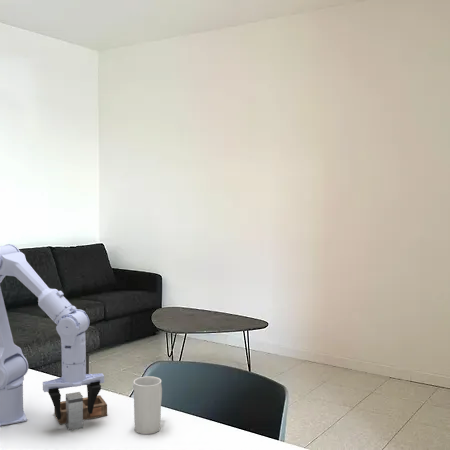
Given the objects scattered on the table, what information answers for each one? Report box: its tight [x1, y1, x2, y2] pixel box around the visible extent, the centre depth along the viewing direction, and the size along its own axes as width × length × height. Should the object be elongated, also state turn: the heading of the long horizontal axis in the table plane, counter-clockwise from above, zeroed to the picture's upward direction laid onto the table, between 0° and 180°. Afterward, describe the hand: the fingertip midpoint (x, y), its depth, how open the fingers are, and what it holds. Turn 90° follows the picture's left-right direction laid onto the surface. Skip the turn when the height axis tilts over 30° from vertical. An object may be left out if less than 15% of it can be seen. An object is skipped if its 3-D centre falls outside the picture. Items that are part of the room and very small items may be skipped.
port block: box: [53, 394, 108, 425], centre depth 146 cm, size 12×7×3 cm, turn 117°
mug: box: [133, 376, 163, 435], centre depth 140 cm, size 10×7×12 cm, turn 156°
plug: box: [65, 391, 84, 431], centre depth 139 cm, size 3×3×8 cm
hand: (74, 415), depth 139 cm, fingers open, 7 cm apart
